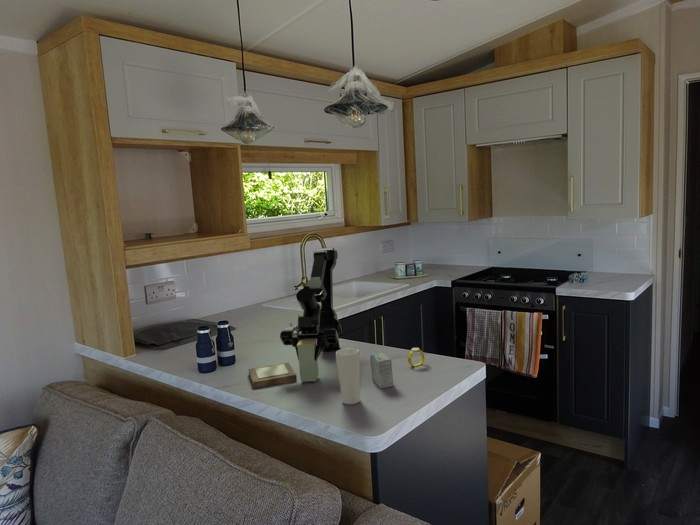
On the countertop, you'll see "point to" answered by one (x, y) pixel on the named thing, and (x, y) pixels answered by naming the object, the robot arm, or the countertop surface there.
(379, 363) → the medicine box
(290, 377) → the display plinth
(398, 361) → the countertop surface
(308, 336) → the robot arm
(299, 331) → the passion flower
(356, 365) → the drinking glass
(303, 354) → the tea tin
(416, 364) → the watch
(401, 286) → the countertop surface
